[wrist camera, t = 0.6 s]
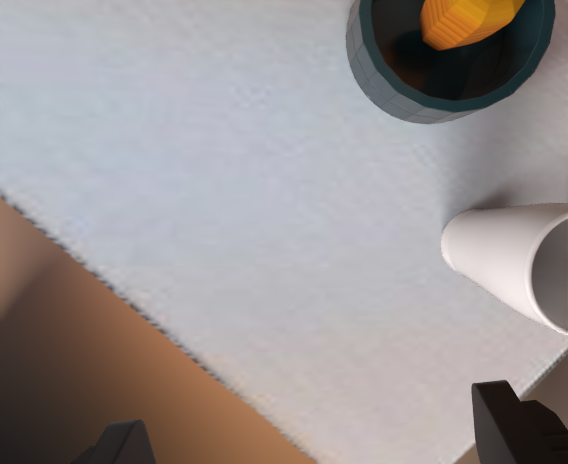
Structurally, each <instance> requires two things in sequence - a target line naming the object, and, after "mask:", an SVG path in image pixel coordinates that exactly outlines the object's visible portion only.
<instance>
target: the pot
mask: <svg viewBox="0 0 568 464" xmlns="http://www.w3.org/2000/svg"><path fill="white" fill-rule="evenodd" d="M424 2H425V0H355V1H354V3H353V5H352V8H351V10H350V15H349V20H348V25H347V33H346V47H347V55H348V60H349V64H350V68H351V70H352V72H353V75H354V77H355V79H356V81H357V83H358V85H359V86H360V88H361V89H362V91H363V92H364V93H365V95H366V96H367V97H368V98H369V99H370V100H371V101H372V102H373V103H374V104H375V105H376V106H378V107H379V108H380V109H382V110H383V111H385V112H386V113H388V114H390V115H391V116H394V117H396V118H399V119H401V120H404V121H408V122H412V123H419V124H435V123H442V122H447V121H453V120H456V119H459V118H461V117H464V116H466V115H469V114H471V113H474V112H477V111H479V110H482V109H484V108H486V107H488V106H490V105H492V104H494V103H496V102H498V101H500V100H502V99H504V98H506V97H508V96H510V95H511V94H513V93H514V92H515V91H516V90H517V89H518V88H519V87H520V86H521V85H522V84H523V83H524V82H525V81H526V80H527V79H528V78H529V77H530V76H531V75H532V74H533V73H534V72H535V70H536V68H537V66H538V65H539V63H540V61H541V59H542V57H543V55H544V53H545V52H546V50H547V48H548V46H549V44H550V39H551V34H552V29H553V24H554V19H555V3H554V0H525V1H524V3H523V4H522V6H521V7H520V9H519V10H518V12H517V13H516V15H515V16H514V18H513V19H512V21H511V22H510V23H509V24H507V25H505V26H504V27H502V28H501V29H499V30H498V31H496V32H495V33H493V34H491V35H489V36H488V37H486V38H484V39H482V40H480V41H478V42H475V43H471V44H468V45H464V46H459V47H455V48H450V49H445V50H440V51H438V50H435V49H433V48H432V47H430V46H429V45H428V44H426V43H425V42H423V38H422V33H421V27H420V21H419V19H420V15H421V11H422V8H423V5H424Z"/></svg>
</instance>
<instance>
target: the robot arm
mask: <svg viewBox="0 0 568 464" xmlns="http://www.w3.org/2000/svg"><path fill="white" fill-rule="evenodd" d="M472 404H473V417H474V429H475V441H476V447H477V452H478V456H479V460H480V463H481V464H568V430H567V428H566V427H565V425H563V423H562V421H561V420H560V419H559V417H558V416H557V414H555V413H554V412H553V411H551V410H550V409H548V408H547V407H545V406H544V405H542V404H541V403H539V402H538V401H537V400H531V401H521V402H520V400H519V398H518V397H517V395H516V394H515V392H514V391H513V389H512V388H511V386H510V384H509V383H508V382H507V381H506V380H500V381H491V382H482V383H473V384H472ZM71 464H156V461H155V457H154V454H153V450H152V447H151V443H150V440H149V436H148V433H147V430H146V426H145V424H144V422H143V421H142V420H131V421H122V422H113V423H110V424H109V425H108V426H107V427H106V429H105V431H104V432H103V434H102V435H101V437H100V439H99V440H98V442H97V444H96V445H95V446H89V447H88V448H87V449H86V450H85V451H84V452H83V453H81V455H79V456H78V457H77V458H76V459H75V460H74V461H73V462H72V463H71Z"/></svg>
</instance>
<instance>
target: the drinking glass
mask: <svg viewBox="0 0 568 464" xmlns="http://www.w3.org/2000/svg"><path fill="white" fill-rule="evenodd" d="M441 252H442V255H443V258H444V260H445V262H446V263H447V264H448V266H449V267H450V268H451V269H452V270H454V271H455V272H456V273H458V274H460V275H462V276H464V277H466V278H468V279H469V280H470V281H472V282H473V283H475V284H476V285H478V286H479V287H481V288H482V289H483V290H485V291H486V292H488V293H489V294H490V295H492V296H493V297H494V298H496V299H497V300H499V301H500V302H501V303H503V304H504V305H506V306H507V307H509V308H510V309H512V310H513V311H515V312H517V313H518V314H520V315H522V316H524V317H525V318H527V319H529V320H531V321H533V322H536V323H538V324H540V325H542V326H544V327H547V328H549V329H552V330H554V331H557V332H559V333H562V334H564V335H567V336H568V203H540V204H530V205H521V206H513V207H504V208H494V209H470V210H466V211H463V212H461V213H459V214H457V215H456V216H454V217H453V218H452V219H451V220H450V221H449V222H448V223H447V225H446V226H445V228H444V230H443V233H442V236H441Z"/></svg>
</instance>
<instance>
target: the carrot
mask: <svg viewBox="0 0 568 464" xmlns="http://www.w3.org/2000/svg"><path fill="white" fill-rule="evenodd" d="M524 1H525V0H425V2H424V5H423V8H422V11H421V15H420V19H419V21H420V27H421V33H422V38H423V42H425V43H426V44H428V45H429V46H430V47H432V48H433V49H435V50H438V51H440V50H445V49H450V48H455V47H459V46H464V45H468V44H471V43H475V42H478V41H480V40H482V39H484V38H486V37H488V36H489V35H491V34H493V33H495V32H496V31H498V30H499V29H501V28H502V27H504V26H505V25H507V24H509V23H510V22H511V21H512V19H513V18H514V16H515V15H516V13H517V12H518V10H519V9H520V7H521V6H522V4H523V3H524Z"/></svg>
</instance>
